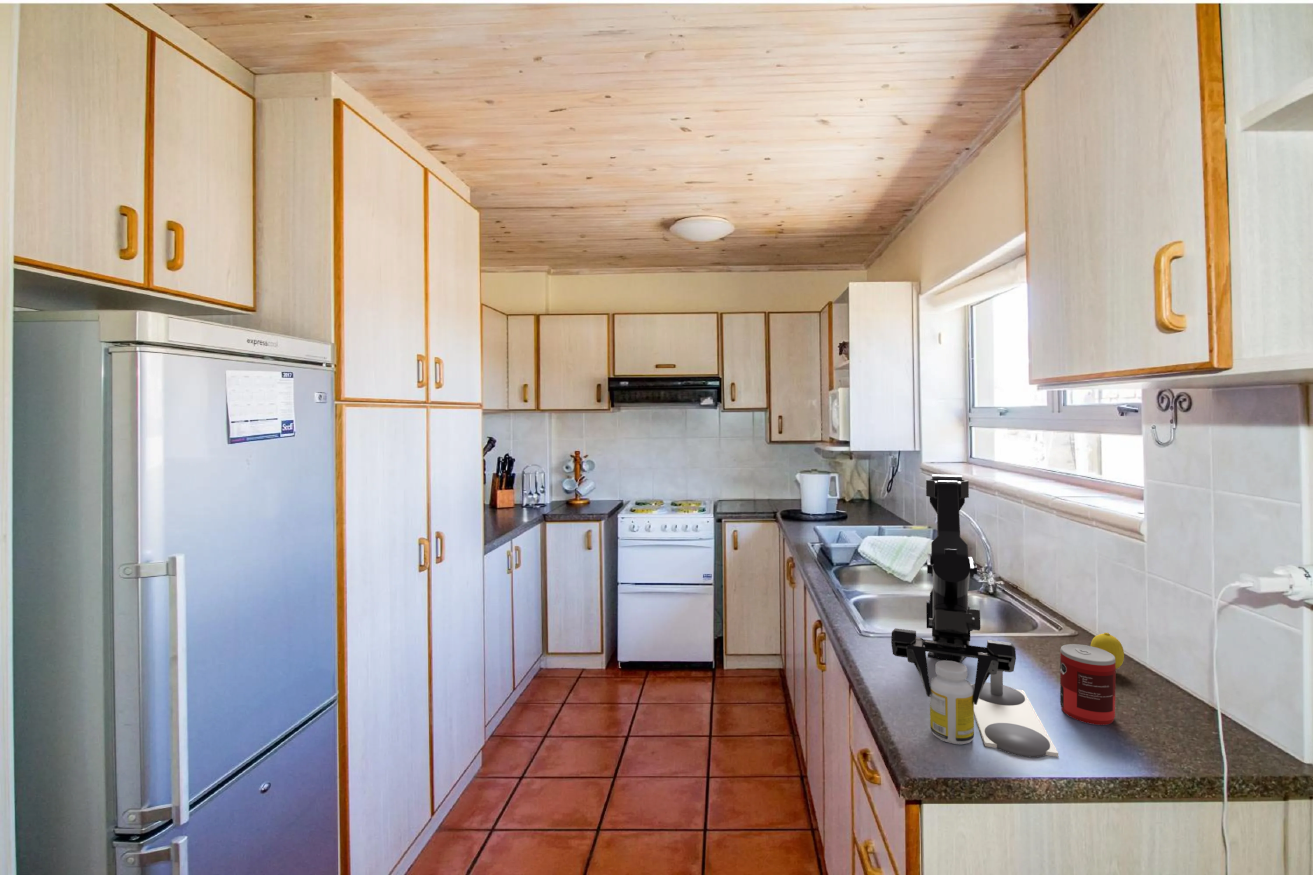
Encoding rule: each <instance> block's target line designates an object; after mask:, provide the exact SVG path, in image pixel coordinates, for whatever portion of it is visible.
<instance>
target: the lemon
mask: <svg viewBox="0 0 1313 875" xmlns="http://www.w3.org/2000/svg"><path fill="white" fill-rule="evenodd" d="M1089 646H1092V647H1096V648H1099V649H1102V650H1105V651H1107V652H1109V653H1111V654H1112V655H1113V656H1114V657H1115V661H1116V670H1117V669H1119V668H1120V667H1121V666H1122V665H1123V663H1124V660H1125V651H1124V647H1123V644H1122V642H1121V641H1120V640H1119V639H1118V638H1117V637H1115V636H1114V635H1111V633H1109V632H1103V633H1100V634H1097V635H1095V636H1094V637H1093V638H1092V639H1091V643H1090V645H1089Z"/></svg>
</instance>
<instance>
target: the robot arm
mask: <svg viewBox="0 0 1313 875" xmlns="http://www.w3.org/2000/svg"><path fill="white" fill-rule="evenodd" d="M969 483H970V481H969V480H968V479H963V475H962V474H937V473H936V474H934V473H933V474H931V478H926V479H925V496H926V497H927V498H929V504H930V505H931V507H932V508H933V510H934V512H935V513H936V518H937V519H936V520H937V522H936V527H937V530H936V532H937V534H936V537H935V538H934V539H933V540H932V541H931V542H930V543H931V544H930V545H931V549H930V550H931V551H930V552H931V553H927V555H926V556H927V557H926V558H927V559H926V564H927V565H926V570H927V571H926V572H927V574H929V575H931V577H932V588H931V590H930V592H929V599H926V603H925V604H926V605H925V606H926V610H925V611H926V617H925V618H926V629H931V636H932V639H925V638H922V637H918V636H917V630H912V629H904V628H894V629H893V630H891V636H890V637H891V639H890V641H891V642H890V643H891V650H892V652H891V653H892V655H894V656H895V657H901V658H907V662H909V663H911V664H914V666H915V668H916V670H917V672H918V674H919V677H920V679H921V682H922V685H923V689H924V691H925V694H926V697H927V698H930V677H929V669H928V662H927V656H928V657H931V658H936V659H941V660H942V661H944V660H947V661H955V662H958V663H962V661H964V659H965V658H972V659H977V664H976V671H975V672H976V673H975V681H974V684H975V687H974V704H975V705H977V702H978V700H979V697H980V694H981V691H982V688H983V686H984V684H985V682H987V680H988V678H989V677H990V674H993V675H995V674H997V671H1003V673H1004V672H1005V673H1012V672H1015V671H1014V670H1015V666H1016V661H1017V652H1016V651H1017V650H1016V646H1014V644H1012V643H1011V642H1007V641H1001V640H993V639H987V642H986V647H985V646H977V645H970V642H971V632H973V631H980V630H981V628H982V627H981V626H982V625H981V610H980V609H976V608H975V609H974V608H971V607H970V604H969V594H968V593H969V588H970V578H974V577H975V575H978V566H977V564H976V562H975V561H974V559H973V556H969V546H968V545H969V544H968V543H967V542H965V540H964V539H963V538H962V537H961V525H960V522H961V521H960V511H961V510H962V508H963V506H964V504H965V503H966V499H967V498H970V496H969V494H970V491H969V490H970V484H969ZM927 652H928V653H927Z"/></svg>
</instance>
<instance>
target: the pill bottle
mask: <svg viewBox="0 0 1313 875" xmlns="http://www.w3.org/2000/svg"><path fill="white" fill-rule="evenodd" d="M935 674H936V675H935V676H933V677H932V678H931V680H929V683H930V697H929V715H930V717H929V719H930V720H929V721H930V722H929V723H930V724H929V727H930V731H931V733H932V734H933V736H934V737H936V738H937V739H939V740H940V741H943V742H946V743H949V744H954V745H965V744H969V743H971V742H972V741H974V737H975V716H974V690H973V687H972V685H971V682H970V681H969V680H967V678H968V668H967V666H966V665H965V664H963V663H962V662H960V663H958V662H955V661H948V660H938V661H937V662H935Z"/></svg>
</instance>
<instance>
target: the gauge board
mask: <svg viewBox="0 0 1313 875" xmlns="http://www.w3.org/2000/svg"><path fill="white" fill-rule="evenodd" d="M989 677H990V679H989V680H990V681H989V682H987V681H986V682H985V684H984V686H983V688H982V691H981V694H980V697H979V700H978V702H977V705H975V704H974V720H975V722H976V725H977V727H978V730H979V733H980V736H981V738H982V742H983V744H984V747H989V748H995V749H996V748H997V749H998V750H1000V751H1002V752H1005V753H1007V754H1011V755H1014V756H1019V757H1024V758H1040V757H1044V756H1050V757H1057V758H1058V757H1059V751H1058V750H1057V748H1056V746H1055V744H1054V743H1053V741H1052V738H1051V737H1050V735H1049V734H1048V731H1047V730H1046V728H1045V726H1044V724H1043V723H1042V721H1041V719H1040V718H1039V716H1038V714H1037V712H1036V710H1035V709H1034V706H1033V705H1032V703H1031V700H1030V699H1029V698H1028V696H1027V694H1026V692H1025V690H1023V689H1017V688H1013V687H1011V686H1008V685H1005V684H1004V671H997V674H995V675H993V674H990V675H989ZM970 684H971V683H970ZM971 685H972V687H973V690H974V687H975V683H972V684H971Z"/></svg>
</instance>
